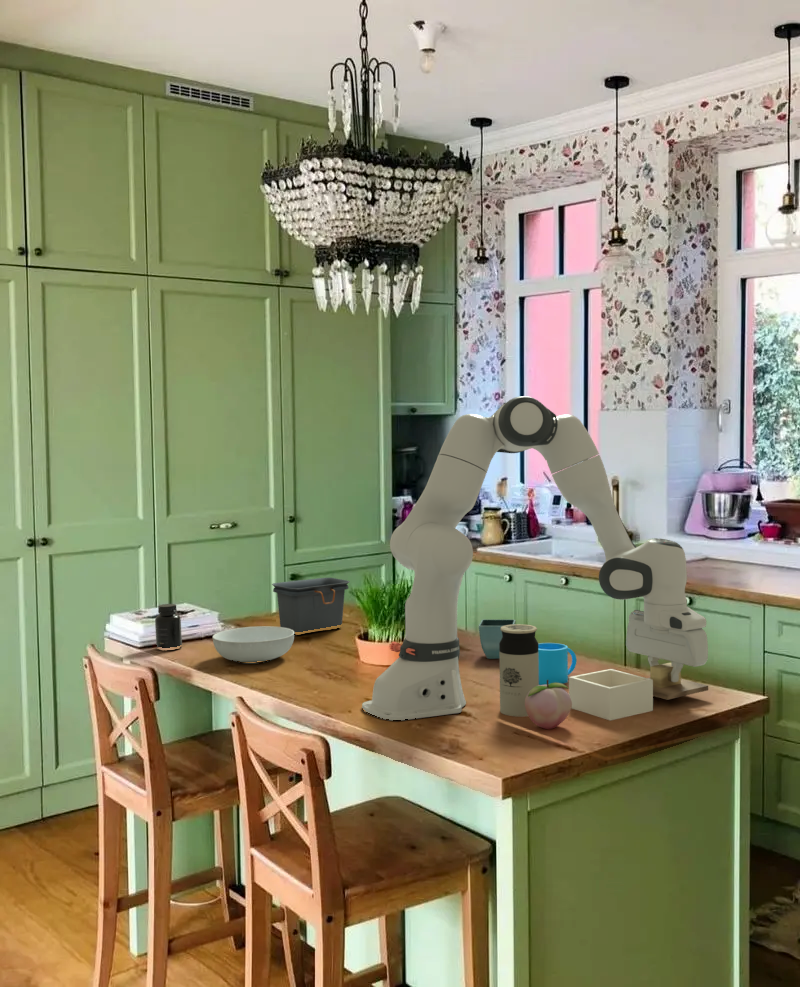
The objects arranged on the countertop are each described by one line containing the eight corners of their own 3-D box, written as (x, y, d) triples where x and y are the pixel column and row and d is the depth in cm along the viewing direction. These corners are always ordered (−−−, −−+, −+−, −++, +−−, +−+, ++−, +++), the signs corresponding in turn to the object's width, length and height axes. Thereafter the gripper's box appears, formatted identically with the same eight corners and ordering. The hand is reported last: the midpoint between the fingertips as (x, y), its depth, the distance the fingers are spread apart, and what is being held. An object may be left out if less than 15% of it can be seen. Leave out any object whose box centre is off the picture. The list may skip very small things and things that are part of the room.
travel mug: (517, 706, 227) (516, 622, 226) (546, 713, 222) (546, 627, 220) (492, 714, 222) (491, 627, 221) (521, 721, 216) (520, 633, 215)
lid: (667, 699, 221) (667, 675, 221) (623, 687, 231) (623, 664, 231) (708, 690, 228) (708, 666, 227) (664, 678, 238) (664, 656, 238)
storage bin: (327, 622, 325) (326, 575, 324) (359, 629, 313) (358, 581, 312) (268, 632, 311) (267, 583, 310) (299, 640, 300) (298, 589, 299)
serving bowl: (268, 647, 291) (267, 622, 291) (310, 660, 275) (309, 633, 274) (198, 659, 279) (198, 632, 278) (238, 673, 262) (237, 645, 262)
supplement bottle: (166, 645, 296) (165, 602, 295) (187, 647, 293) (185, 603, 292) (150, 650, 290) (149, 606, 289) (171, 652, 287) (169, 608, 286)
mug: (547, 687, 243) (547, 652, 242) (525, 680, 250) (524, 645, 249) (587, 679, 249) (587, 645, 249) (564, 673, 256) (564, 639, 256)
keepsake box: (610, 723, 214) (609, 688, 213) (569, 710, 224) (568, 676, 223) (652, 713, 220) (652, 679, 220) (611, 701, 230) (611, 668, 230)
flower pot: (478, 660, 271) (478, 625, 270) (482, 653, 280) (481, 618, 279) (513, 661, 269) (513, 625, 269) (516, 653, 278) (515, 619, 277)
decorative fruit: (548, 721, 216) (548, 672, 216) (579, 730, 210) (578, 679, 209) (514, 729, 211) (514, 679, 210) (544, 739, 204) (544, 687, 203)
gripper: (619, 610, 235) (619, 672, 236) (691, 624, 218) (691, 691, 219) (639, 606, 239) (640, 668, 240) (712, 620, 222) (712, 686, 223)
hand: (665, 679), depth 229 cm, fingers closed on lid, 3 cm apart
